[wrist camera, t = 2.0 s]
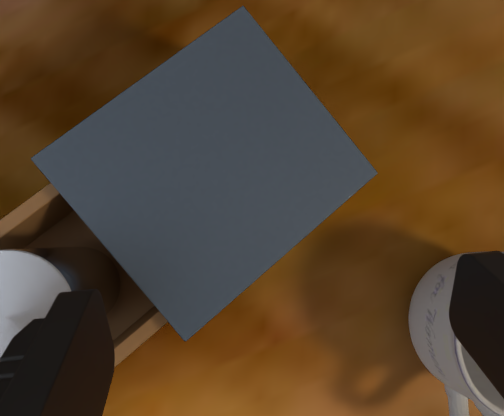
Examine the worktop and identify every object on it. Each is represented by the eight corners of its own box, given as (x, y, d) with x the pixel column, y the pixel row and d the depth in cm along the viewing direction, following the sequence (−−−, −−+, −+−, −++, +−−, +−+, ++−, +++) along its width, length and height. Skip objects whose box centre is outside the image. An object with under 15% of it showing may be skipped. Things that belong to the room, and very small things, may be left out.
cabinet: (184, 314, 31) (185, 342, 22) (72, 182, 30) (29, 158, 22) (329, 190, 33) (378, 173, 25) (227, 66, 33) (243, 4, 24)
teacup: (428, 224, 34) (500, 219, 27) (532, 290, 35) (632, 303, 28) (349, 380, 32) (402, 424, 24) (462, 444, 33) (549, 507, 25)
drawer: (44, 426, 28) (0, 484, 21) (-70, 295, 27) (-152, 312, 21) (215, 280, 30) (224, 290, 24) (113, 158, 30) (93, 133, 23)
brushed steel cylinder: (33, 323, 27) (-82, 384, 15) (43, 243, 28) (-60, 243, 16) (115, 327, 28) (66, 389, 16) (124, 249, 29) (83, 254, 17)
